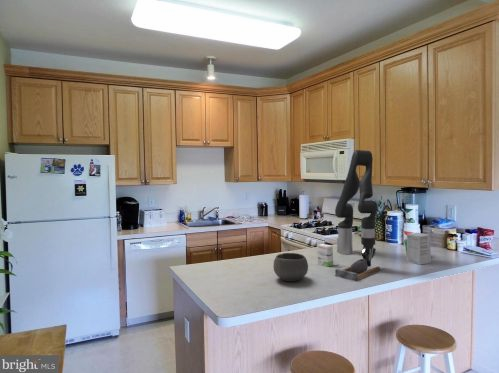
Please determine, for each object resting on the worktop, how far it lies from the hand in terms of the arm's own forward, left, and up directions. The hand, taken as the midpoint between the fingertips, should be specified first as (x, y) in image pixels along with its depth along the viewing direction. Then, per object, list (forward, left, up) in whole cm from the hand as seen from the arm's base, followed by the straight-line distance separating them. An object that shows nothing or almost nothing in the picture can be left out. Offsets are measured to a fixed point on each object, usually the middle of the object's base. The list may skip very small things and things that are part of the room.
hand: (368, 266), depth 192 cm
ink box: (-23, -9, -2) cm, 25 cm away
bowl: (-19, -44, -2) cm, 48 cm away
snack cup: (+6, +44, -2) cm, 44 cm away
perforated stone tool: (0, -11, -2) cm, 11 cm away
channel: (0, -10, -2) cm, 10 cm away
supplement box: (+14, +33, -2) cm, 36 cm away
